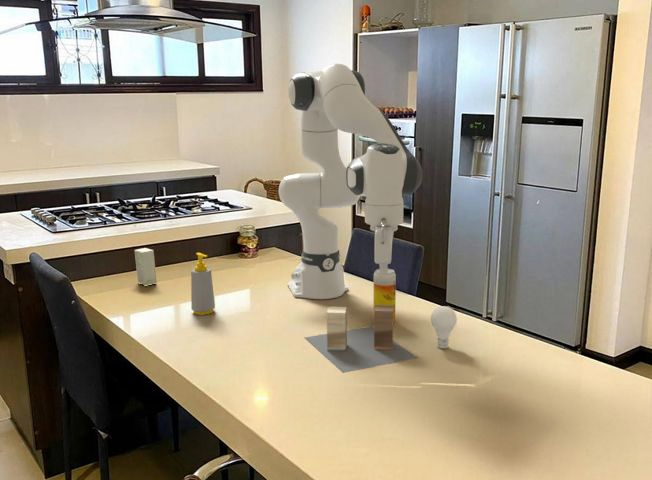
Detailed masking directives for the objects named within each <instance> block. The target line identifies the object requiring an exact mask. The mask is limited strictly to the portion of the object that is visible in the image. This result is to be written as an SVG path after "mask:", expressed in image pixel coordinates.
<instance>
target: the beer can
mask: <svg viewBox="0 0 652 480" xmlns="http://www.w3.org/2000/svg"><path fill="white" fill-rule="evenodd" d="M396 277H397V274H396V272H395V270H394V269H391V268H388V270H387V274H386V275H381V274H380V268H378V269H375V270H374V273H373V307H372V308H373V313H372V314H373V315H372V316H373V317H372V319H373V321H374V310H375V305H389V306H393V323H395V321H396V299H397V298H396V295H397V294H396V293H397V292H396V291H397V287H396V286H397V285H396V283H397V281H396V280H397V278H396Z"/></svg>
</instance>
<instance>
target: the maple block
mask: <svg viewBox="0 0 652 480" xmlns="http://www.w3.org/2000/svg"><path fill="white" fill-rule="evenodd" d="M347 310H348V307H347V306H328V308H327V311H326V334H327V351H345V352H346V347H347V330H348V329H347V328H348V327H347V325H348V322H347V321H348V320H347V319H348V311H347Z"/></svg>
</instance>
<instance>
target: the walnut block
mask: <svg viewBox="0 0 652 480" xmlns="http://www.w3.org/2000/svg"><path fill="white" fill-rule="evenodd" d="M373 322H374V326H373V327H374V349H382V350H393V341H394V340H393V339H394V338H393V337H394V336H393V335H394V334H393V333H394V327H393V326H394V322H393V306H389V305H375V310H374V320H373Z"/></svg>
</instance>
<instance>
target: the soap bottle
mask: <svg viewBox="0 0 652 480" xmlns="http://www.w3.org/2000/svg"><path fill="white" fill-rule="evenodd" d="M195 255H196V256H197V260H198V262H196V265H195V267H194V268H193V269H191V271H190V272H191V273H190V276H191V277H190V279H191V281H190V286H191V288H190V289H191V290H190V291H191V294H190V295H191V300H190V301H191V310H192V311H193V313H195V314H194V315H196V314H199V315H198V316H205V315H204V314H208V315H210V313H211V314H213V312H214V309H215V308H216V305H215V296H214V294H215V293H214V286H213V285H214V284H213V276H212V269H211V268H208V266H207V265H206V264H205V261H203V260H204V258H208V255H207V254H205V253H201V252H196V254H195Z"/></svg>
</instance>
